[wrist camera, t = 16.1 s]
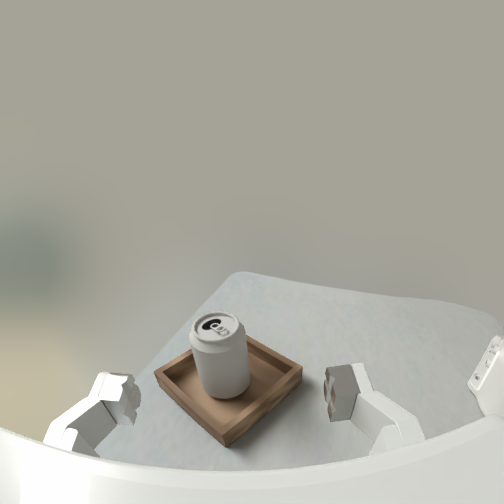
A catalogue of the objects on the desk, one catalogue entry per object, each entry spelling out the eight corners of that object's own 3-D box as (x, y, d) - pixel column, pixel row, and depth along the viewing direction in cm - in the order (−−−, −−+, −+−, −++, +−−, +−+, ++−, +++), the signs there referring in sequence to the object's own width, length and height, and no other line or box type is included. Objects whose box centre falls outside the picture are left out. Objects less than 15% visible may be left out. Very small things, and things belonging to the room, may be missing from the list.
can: (230, 359, 49) (221, 300, 44) (261, 384, 44) (256, 323, 38) (193, 381, 45) (176, 322, 39) (221, 410, 39) (207, 352, 34)
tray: (231, 339, 55) (229, 324, 53) (301, 381, 45) (302, 366, 43) (159, 385, 45) (153, 371, 43) (225, 447, 34) (222, 435, 33)
